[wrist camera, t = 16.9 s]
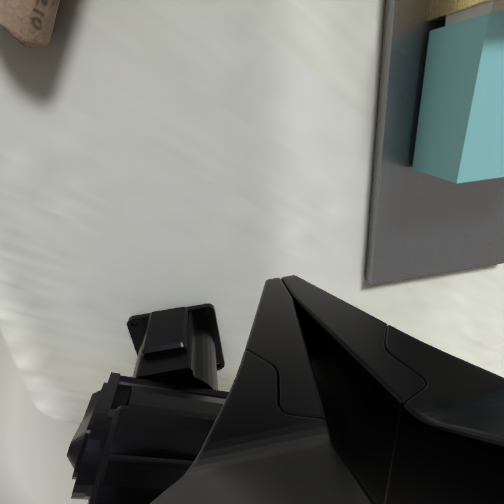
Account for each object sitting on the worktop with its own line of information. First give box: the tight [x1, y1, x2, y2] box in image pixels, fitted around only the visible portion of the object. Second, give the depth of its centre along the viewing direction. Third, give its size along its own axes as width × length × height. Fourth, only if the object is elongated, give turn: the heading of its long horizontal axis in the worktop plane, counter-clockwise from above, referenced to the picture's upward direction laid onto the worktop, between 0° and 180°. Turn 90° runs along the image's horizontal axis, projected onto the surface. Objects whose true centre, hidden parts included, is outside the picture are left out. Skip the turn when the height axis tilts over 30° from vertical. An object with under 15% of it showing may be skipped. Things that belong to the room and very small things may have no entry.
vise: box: [365, 0, 504, 285], centre depth 19 cm, size 26×12×3 cm, turn 6°
